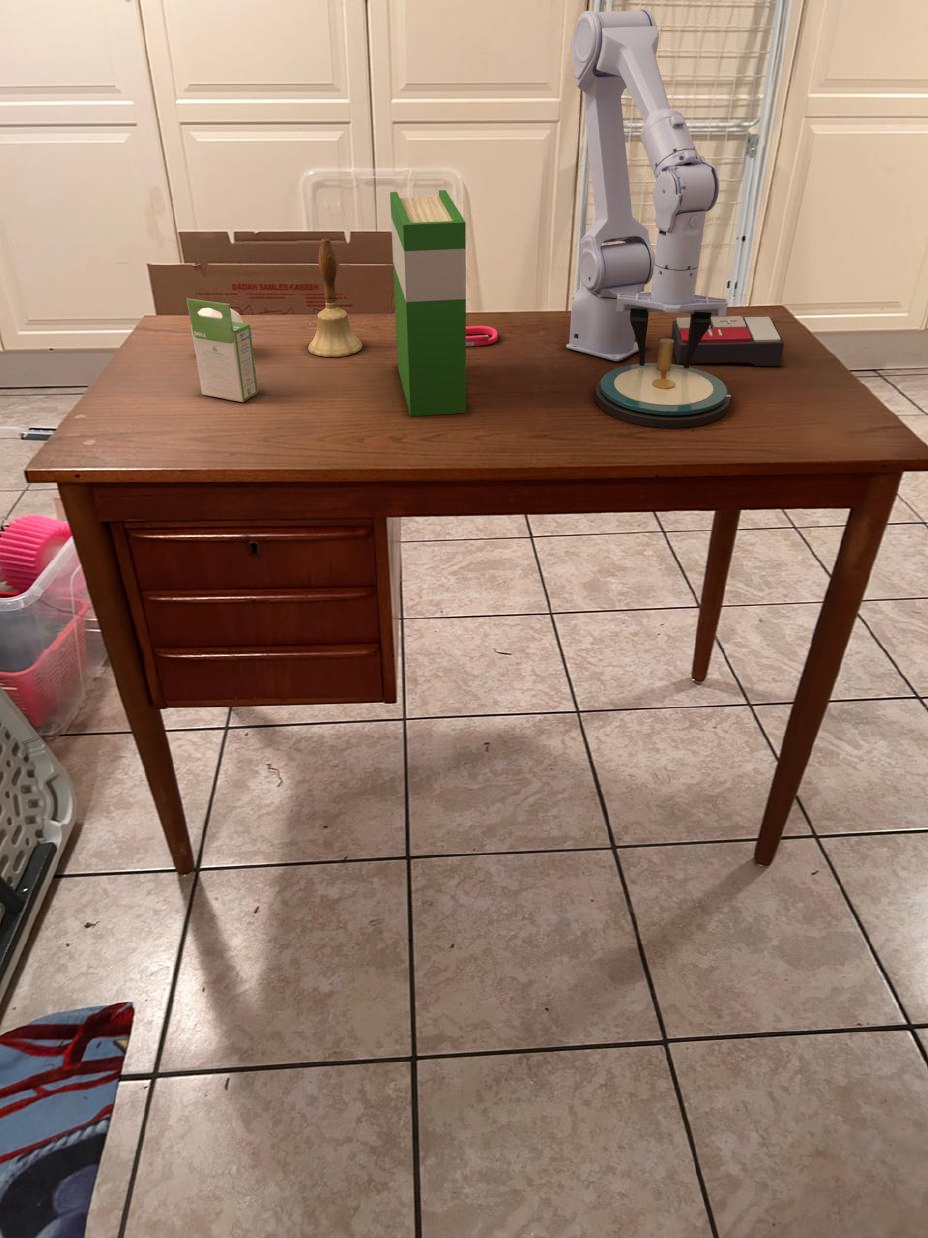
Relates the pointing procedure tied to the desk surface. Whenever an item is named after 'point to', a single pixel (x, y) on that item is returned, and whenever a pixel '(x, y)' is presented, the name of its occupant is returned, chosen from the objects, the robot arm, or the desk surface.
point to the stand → (660, 420)
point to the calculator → (732, 341)
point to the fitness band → (482, 338)
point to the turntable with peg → (663, 386)
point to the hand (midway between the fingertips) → (663, 364)
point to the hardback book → (430, 302)
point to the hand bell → (332, 314)
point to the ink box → (223, 353)
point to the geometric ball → (214, 313)
